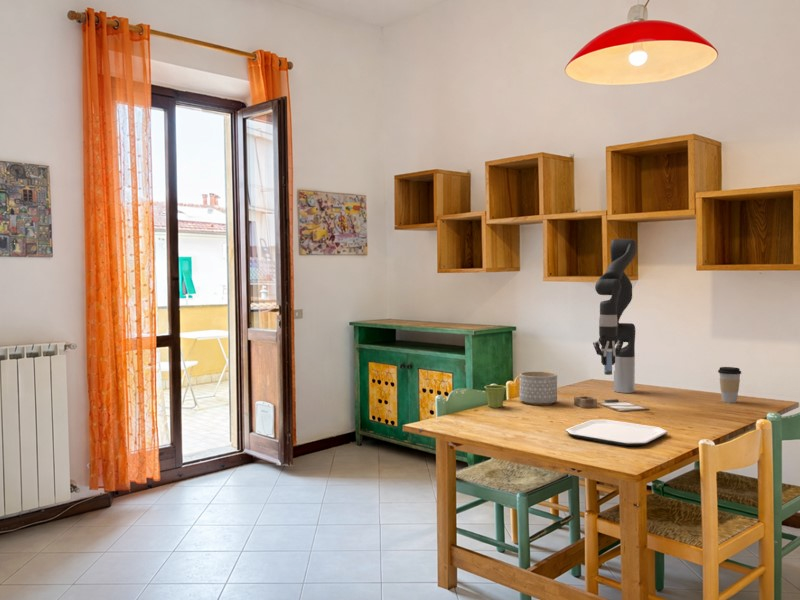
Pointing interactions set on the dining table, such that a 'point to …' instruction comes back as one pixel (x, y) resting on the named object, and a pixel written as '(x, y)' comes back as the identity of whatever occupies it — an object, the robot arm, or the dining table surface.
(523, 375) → the planter
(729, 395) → the coffee cup
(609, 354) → the marker
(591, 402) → the pen block
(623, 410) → the clipboard
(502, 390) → the plant pot
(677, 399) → the dining table surface
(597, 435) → the plate
